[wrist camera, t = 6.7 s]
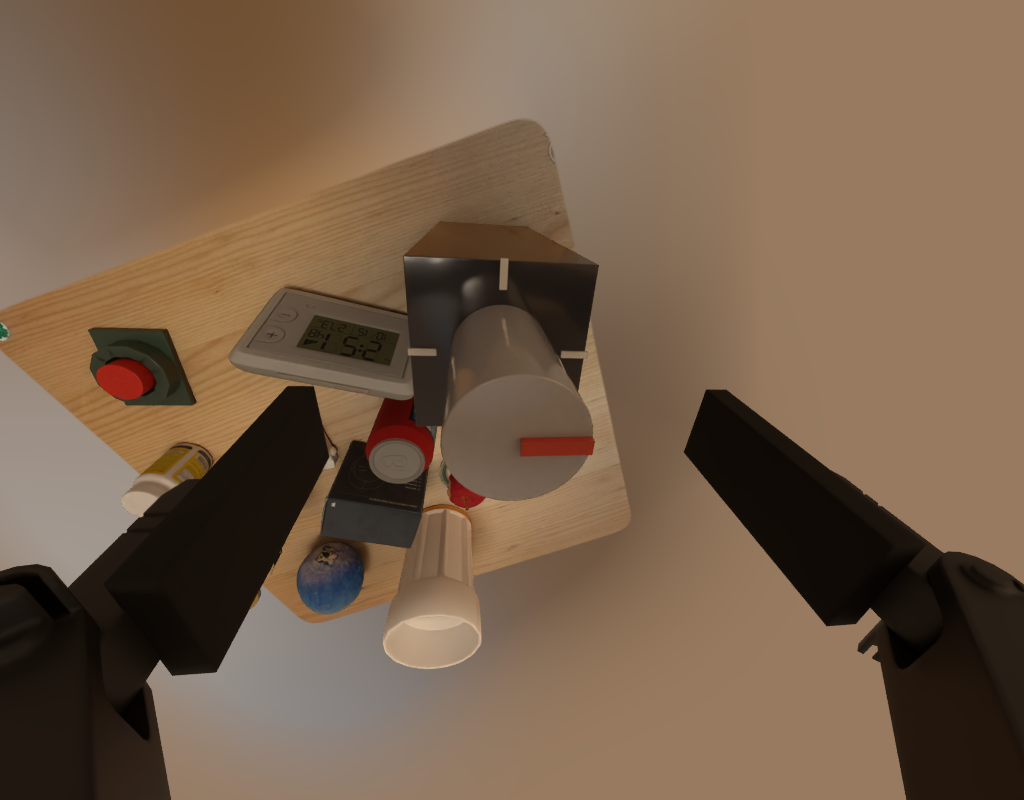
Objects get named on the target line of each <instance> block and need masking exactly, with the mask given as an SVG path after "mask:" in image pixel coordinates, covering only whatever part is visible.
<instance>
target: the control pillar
mask: <svg viewBox="0 0 1024 800" xmlns="http://www.w3.org/2000/svg"><path fill="white" fill-rule="evenodd" d="M403 261H404V274H405V287H406V300H407V314H408V327H409V340H410V348H408V355H411V366H412V379H413V392H414V406H415V419H416V426H442V421H443V412H444V403H445V394H446V385H447V377H448V368H449V359H450V350H451V343H452V339H453V336H454V334H455V332H456V330H457V328H458V327H459V325H460V324H461V323H462V322H463V320H464V319H465V318H467V317H468V316H469V315H470V314H472V313H473V312H475V311H477V310H479V309H481V308H484V307H487V306H492V305H509V306H514V307H517V308H520V309H522V310H524V311H526V312H527V313H529V314H530V315H532V316H533V317H534V318H535V319H536V320H537V321H538V322H539V324H540V325H541V327H542V328H543V330H544V332H545V334H546V335H547V337H548V339H549V341H550V343H551V344H552V346H553V348H554V350H555V352H556V353H557V355H558V357H559V359H560V361H561V362H562V364H563V366H564V368H565V369H566V371H567V373H568V375H569V377H570V378H571V380H572V382H573V384H574V386H575V387H576V389H577V391H578V389H579V382H580V376H581V370H582V364H583V358H587V353H588V352H587V351H585V346H586V340H587V334H588V328H589V322H590V316H591V310H592V303H593V298H594V291H595V285H596V279H597V273H598V267H599V265H597V264H596V263H594V262H592V261H590V260H588V259H586V258H584V257H583V256H581V255H579V254H577V253H575V252H573V251H571V250H570V249H568V248H566V247H564V246H562V245H560V244H558V243H557V242H555V241H553V240H551V239H549V238H547V237H545V236H544V235H542V234H540V233H538V232H536V231H534V230H532V229H531V228H529V227H524V226H508V225H491V224H474V223H458V222H441V221H440V222H438V223H437V224H436V225H435V226H434V227H433V228H432V229H431V230H430V231H429V232H428V233H427V234H426V235H425V236H424V237H423V238H422V239H421V240H419V241H418V242H417V243H416V244H415V245H414V246H413V247H412V248H411V249H410V250H409V251H408V252H407V253H406V254H405V255H404V256H403Z"/></svg>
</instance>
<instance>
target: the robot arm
mask: <svg viewBox="0 0 1024 800" xmlns="http://www.w3.org/2000/svg"><path fill="white" fill-rule="evenodd" d="M684 453H685V454H686V455H687V457H688V458H689V459H690V460H691V462H692V463H693V464H694V465H695V467H696V468H697V469H698V470H699V471H700V473H701V474H702V475H703V476H704V478H705V479H706V480H707V481H708V482H709V484H710V485H711V486H712V487H713V488H714V490H715V491H716V492H717V493H718V494H719V496H720V497H721V498H722V499H723V501H724V502H725V503H726V504H727V505H728V507H729V508H730V509H731V510H732V511H733V513H734V514H735V515H736V516H737V517H738V519H739V520H740V521H741V523H742V524H743V525H744V526H745V527H746V529H748V531H749V532H750V533H751V535H752V536H753V537H754V538H755V540H756V541H757V542H758V543H759V544H760V546H761V547H762V548H763V549H764V550H765V552H766V553H767V554H768V555H769V557H770V558H771V559H772V560H773V561H774V563H775V564H776V565H777V566H778V568H779V569H780V570H781V571H782V572H783V574H784V575H785V576H786V577H787V579H788V580H789V581H790V582H791V583H792V584H793V586H794V587H795V588H796V589H797V591H798V592H799V593H800V594H801V595H802V597H803V598H804V599H805V600H806V602H807V603H808V604H809V605H810V606H811V608H812V609H813V610H814V611H815V613H816V614H817V615H818V616H819V617H820V619H821V620H822V621H823V622H824V624H825V625H826V626H835V625H848V624H856V623H857V622H858V621H859V619H860V618H861V617H862V616H863V615H864V614H865V613H866V612H867V611H868V609H869V608H871V609H872V610H873V611H874V612H875V613H876V614H877V615H878V616H879V617H880V618H881V621H880V622H879V623H878V624H877V625H876V626H875V627H874V628H873V629H872V630H871V631H870V632H869V633H868V634H867V636H865V637H864V639H863V640H862V641H861V642H860V643H859V645H858V651H859V652H861V653H862V654H864V653H865V652H866V651H867V650H868V649H869V648H870V647H871V646H872V645H875V646H877V647H878V652H877V653H876V654H875V655H874V656H873V657H872V658H873V659H874V660H876V661H879V662H880V663H881V668H882V673H883V679H884V684H885V689H886V695H887V700H888V705H889V710H890V715H891V720H892V726H893V731H894V736H895V742H896V747H897V753H898V758H899V762H900V768H901V774H902V779H903V784H904V789H905V795H906V800H1024V585H1023V583H1021V582H1020V581H1018V580H1017V579H1016V578H1014V577H1013V576H1012V575H1010V574H1009V573H1007V572H1005V571H1004V570H1002V569H1000V568H998V567H997V566H995V565H993V564H991V563H989V562H986V561H984V560H982V559H980V558H978V557H975V556H971V555H968V554H965V553H961V552H946V553H943V552H941V551H940V550H939V549H937V548H936V547H934V546H933V545H932V544H931V543H929V542H928V541H927V540H926V539H924V538H923V537H922V536H920V535H919V534H918V533H916V532H915V531H914V530H912V529H911V528H910V527H909V526H907V525H906V524H904V523H903V522H902V521H901V520H899V519H898V518H897V517H895V516H894V515H893V514H891V513H890V512H889V511H887V510H886V509H885V508H884V507H882V506H878V503H877V502H876V501H874V500H873V499H872V498H870V497H869V496H868V495H864V494H863V492H862V491H861V490H860V489H859V488H857V487H856V486H855V485H853V484H852V483H851V482H850V481H848V480H847V479H846V478H844V477H842V476H840V475H839V474H837V473H835V472H833V471H831V470H829V469H828V468H827V467H826V466H824V465H823V464H822V463H820V462H819V461H818V460H816V459H815V458H814V457H813V456H811V455H810V454H809V453H807V452H806V451H805V450H804V449H802V448H801V447H800V446H798V445H797V444H796V443H794V442H793V441H792V440H791V439H789V438H788V437H787V436H785V435H784V434H783V433H782V432H780V431H779V430H778V429H776V428H775V427H774V426H772V425H771V424H770V423H769V422H767V421H766V420H765V419H763V418H762V417H761V416H759V415H758V414H757V413H756V412H754V411H753V410H751V408H749V407H748V406H747V405H745V404H744V403H743V402H741V401H740V400H739V399H737V398H736V397H735V396H733V395H732V394H731V393H730V392H728V391H727V390H706V392H705V394H704V397H703V400H702V403H701V406H700V409H699V411H698V414H697V417H696V420H695V422H694V425H693V428H692V431H691V434H690V436H689V439H688V442H687V445H686V448H685V450H684ZM328 459H329V452H328V448H327V444H326V439H325V435H324V430H323V426H322V421H321V417H320V412H319V408H318V403H317V399H316V395H315V390H314V386H287V387H286V388H285V389H284V391H283V392H282V393H281V394H280V395H279V396H278V397H277V398H276V399H275V400H274V401H273V402H272V403H271V404H270V406H269V407H268V408H267V409H266V410H265V411H264V412H263V413H262V414H261V415H260V416H259V417H258V418H257V419H256V421H255V422H254V423H253V424H252V425H251V426H250V427H249V428H248V429H247V430H246V431H245V432H244V433H243V434H242V436H241V437H240V438H239V439H238V440H237V441H236V442H235V443H234V444H233V445H232V446H231V447H230V448H229V450H228V451H227V452H226V453H225V454H224V455H223V456H222V457H221V458H220V459H219V460H218V461H217V462H216V463H215V465H214V466H213V467H212V468H211V469H210V470H209V471H208V472H207V473H206V474H205V475H204V476H203V477H202V478H201V479H187V480H185V481H183V482H182V483H180V484H179V485H177V486H175V487H174V488H172V489H171V490H169V491H167V492H166V493H164V494H162V495H161V496H160V497H159V498H158V499H157V500H156V501H155V502H154V503H153V504H152V505H151V506H150V507H149V508H148V509H147V510H146V511H145V512H144V513H143V517H139V518H138V519H137V520H136V521H135V522H134V523H133V524H132V525H131V526H130V527H129V528H128V529H127V533H123V534H122V535H121V536H120V537H119V538H118V539H117V540H116V541H115V542H114V543H113V544H112V545H111V546H110V547H109V548H108V549H107V550H106V551H105V552H104V553H103V554H102V555H100V557H99V558H98V559H97V560H95V561H94V562H93V563H92V564H91V565H90V566H89V567H88V568H87V569H86V570H85V571H84V572H83V573H82V574H81V575H80V576H79V577H78V578H77V579H76V580H75V581H74V582H73V583H72V584H71V585H70V586H69V587H68V588H67V586H66V585H65V584H64V583H63V581H62V580H61V579H60V578H59V577H58V575H57V574H56V573H55V572H54V571H53V570H52V568H51V567H47V566H42V565H38V564H34V565H25V566H17V567H13V568H10V569H6V570H3V571H0V800H171V797H170V791H169V786H168V780H167V774H166V768H165V763H164V757H163V751H162V746H161V741H160V734H159V729H158V723H157V718H156V712H155V706H154V701H153V695H152V690H151V688H150V687H149V685H148V683H147V682H146V680H147V678H148V677H149V675H150V674H151V672H152V671H153V669H154V668H155V666H156V665H157V663H158V662H159V660H161V661H162V663H163V664H164V665H165V667H166V668H167V669H168V671H169V672H170V673H171V675H172V676H175V675H188V674H201V673H214V672H217V669H218V668H219V666H220V664H221V662H222V660H223V659H224V657H225V655H226V653H227V651H228V649H229V647H230V645H231V643H232V641H233V639H234V638H235V636H236V634H237V632H238V630H239V628H240V626H241V624H242V622H243V621H244V619H245V617H246V615H247V613H248V611H249V609H250V607H251V605H252V603H253V602H254V600H255V598H256V596H257V594H258V592H259V590H260V588H261V586H262V584H263V583H264V581H265V579H266V577H267V575H268V573H269V571H270V569H271V567H272V565H273V563H274V562H275V560H276V558H277V556H278V554H279V552H280V550H281V548H282V546H283V544H284V543H285V541H286V539H287V537H288V535H289V533H290V531H291V529H292V527H293V525H294V524H295V522H296V520H297V518H298V516H299V514H300V512H301V510H302V508H303V506H304V505H305V503H306V501H307V499H308V497H309V495H310V493H311V491H312V489H313V487H314V486H315V484H316V482H317V480H318V478H319V476H320V474H321V472H322V470H323V468H324V467H325V465H326V463H327V461H328Z"/></svg>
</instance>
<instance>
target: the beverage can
mask: <svg viewBox="0 0 1024 800" xmlns="http://www.w3.org/2000/svg"><path fill="white" fill-rule="evenodd" d="M436 432H437V426H416V419H415V406H414V396H413V397H412V398H411V399H408V400H396V399H390V398H385V399H384V402H383V404H382V406H381V408H380V411H379V413H378V416H377V418H376V420H375V423H374V425H373V428H372V430H371V433H370V436H369V438H368V441H367V444H366V456H367V459H368V461H369V465H370V468H371V470H372V471H373V473H374V474H375V475H376V476H377V477H379V478H380V479H382V480H384V481H386V482H390V483H397V484H401V483H407V482H410V481H413V480H414V479H416V478H417V477H419V476H420V475H421V473H422V472H423V471H425V470H426V469H427V467H428V466H429V465H430V463H431V461H432V458H433V452H434V446H435V439H436Z"/></svg>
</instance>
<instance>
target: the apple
mask: <svg viewBox="0 0 1024 800" xmlns="http://www.w3.org/2000/svg"><path fill="white" fill-rule="evenodd" d="M440 478H441V481H442V482H443V484H444V485H445V486H446V487H447V488H448V490H447V493H448V496H449V499H450V501H451V502H452V503H454V504H455V505H457V506H459V507H463V508H466V510H469V509H468V508H471V507H474V506H477V505H478V504H480V503H481V502H482V501H483V500H484V499H485V498H486V497H484V496H481V495H478V494H476V493H474V492H472V491H470V490H469V489H467V488H465V487H464V486H463V485H462V484H460V483H459V482H458V481H457V480H456V479H455V478H454V477H453V475H452V474H451V473H450V471H449V470H448V468H447V466H446V464H445V462H444V461H443V462H442V464H441V467H440Z"/></svg>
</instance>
